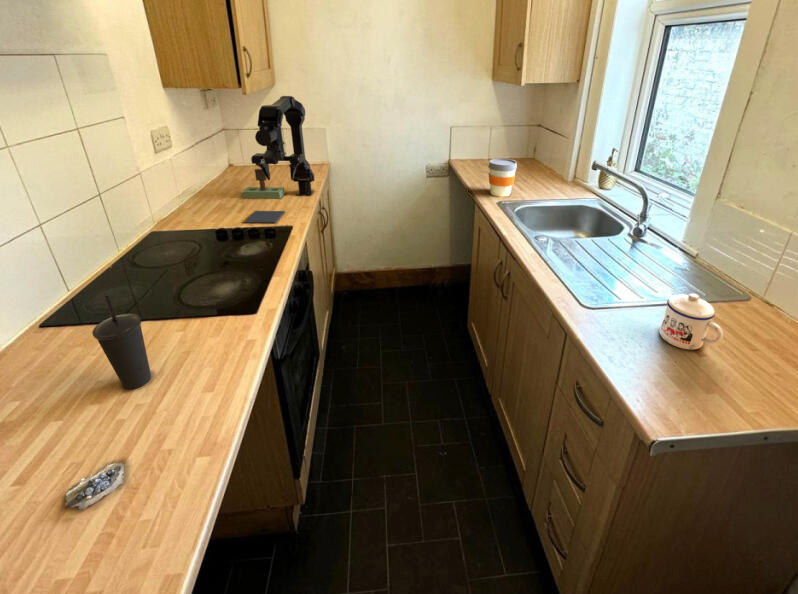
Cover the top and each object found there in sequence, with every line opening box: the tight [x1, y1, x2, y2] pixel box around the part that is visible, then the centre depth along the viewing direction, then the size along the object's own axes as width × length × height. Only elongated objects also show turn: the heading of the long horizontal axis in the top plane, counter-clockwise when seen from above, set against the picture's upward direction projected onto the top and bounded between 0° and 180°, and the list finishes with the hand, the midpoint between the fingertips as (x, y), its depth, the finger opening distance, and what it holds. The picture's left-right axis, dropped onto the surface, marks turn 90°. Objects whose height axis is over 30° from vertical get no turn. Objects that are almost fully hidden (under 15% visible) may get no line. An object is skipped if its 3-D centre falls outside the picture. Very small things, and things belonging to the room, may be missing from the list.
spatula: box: [254, 168, 268, 191], centre depth 188 cm, size 2×4×12 cm, turn 89°
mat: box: [243, 210, 285, 224], centre depth 165 cm, size 12×12×1 cm
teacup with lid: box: [659, 293, 724, 350], centre depth 93 cm, size 12×9×12 cm
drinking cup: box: [91, 295, 152, 390], centre depth 79 cm, size 8×8×20 cm
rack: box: [241, 186, 286, 199], centre depth 190 cm, size 7×17×3 cm, turn 89°
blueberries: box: [63, 462, 125, 511], centre depth 63 cm, size 7×8×2 cm
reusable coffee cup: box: [488, 158, 518, 197], centre depth 191 cm, size 12×13×15 cm
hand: (280, 180), depth 163 cm, fingers open, 9 cm apart
